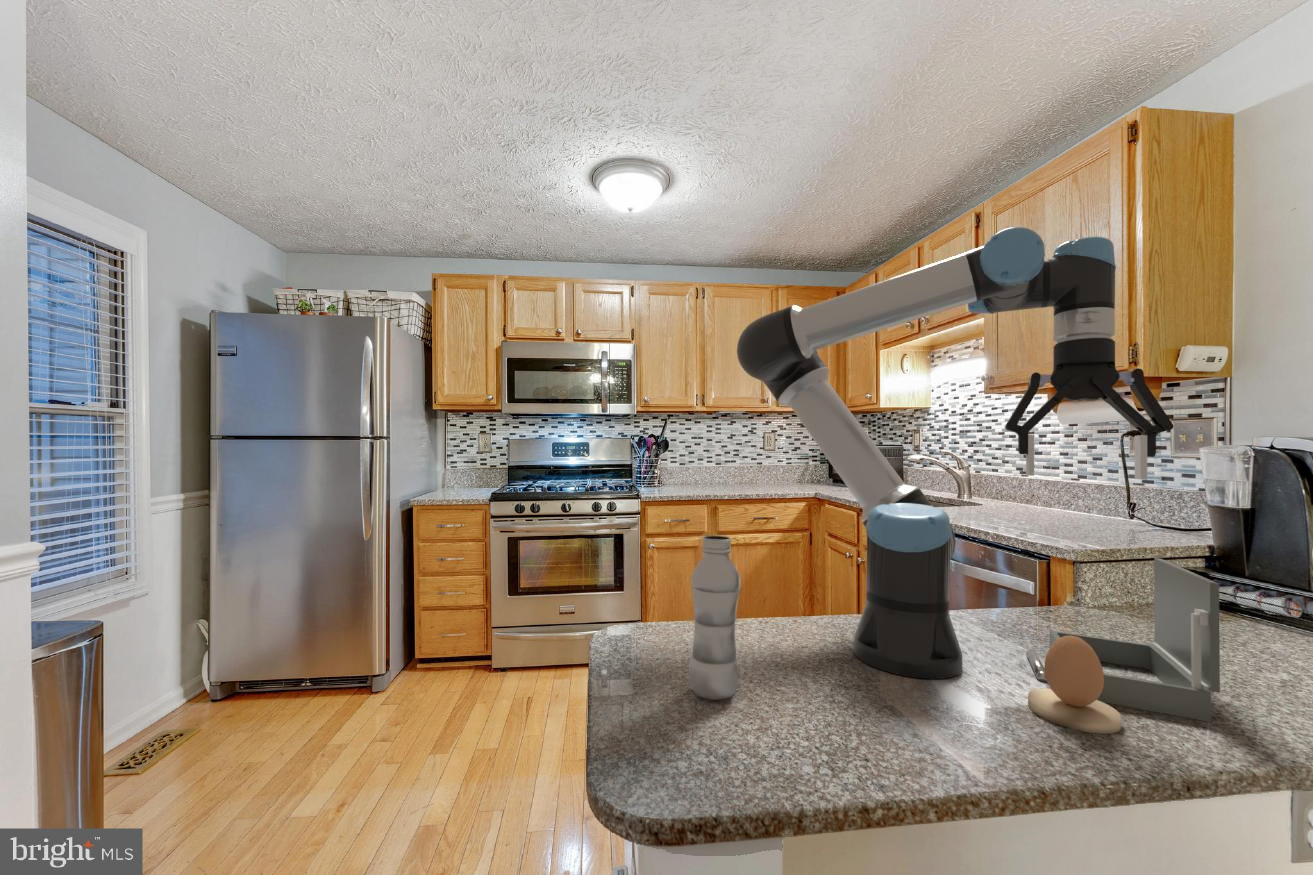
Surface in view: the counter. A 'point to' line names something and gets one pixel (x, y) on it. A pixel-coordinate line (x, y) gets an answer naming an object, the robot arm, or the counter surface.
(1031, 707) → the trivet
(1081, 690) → the egg
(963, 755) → the counter surface
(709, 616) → the plastic bottle
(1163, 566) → the grey hinged box
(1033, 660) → the rod
